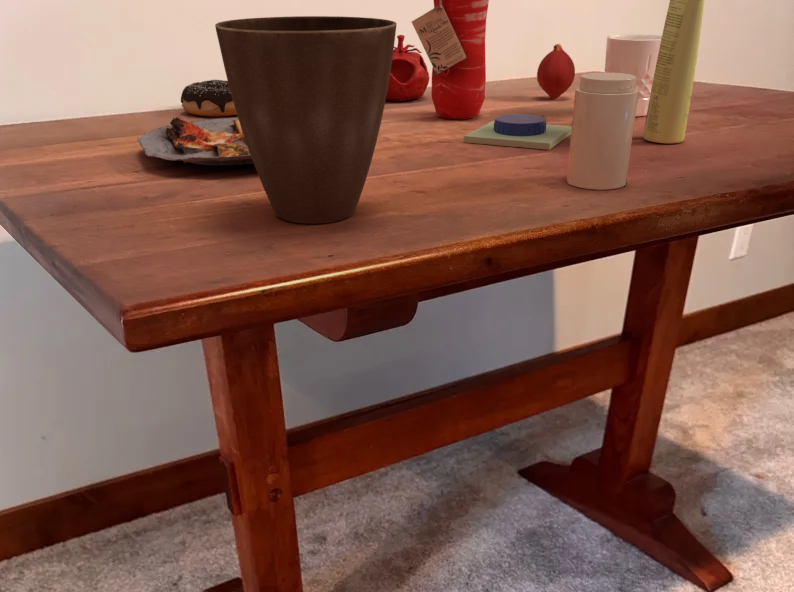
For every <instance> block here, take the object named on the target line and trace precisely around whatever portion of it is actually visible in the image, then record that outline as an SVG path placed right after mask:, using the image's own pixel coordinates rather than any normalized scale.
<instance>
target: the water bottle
mask: <svg viewBox="0 0 794 592" xmlns="http://www.w3.org/2000/svg"><path fill="white" fill-rule="evenodd" d="M489 2H490V0H433V8H432V9H430V10H429V11H427V12H425V13H423V14H422V15H420V16H419V17H417V18H415V19H413V20H412V21H411V24H412V26H413V28H414V30H415V32H416V34H417V36H418V39H419V41H420V43H421V45H422V47H423V49H424V51H425V53H426V55H427V58H428V60H429V62H430V64H431V66H432V71H431V99H432V102H433V107H434V110H435V113H436V114H437V116H438V117H439V118H441V119H445V120H470V119H473V118H476V117H477V116H479V114H480V112H481V110H482V107H483V104H484V102H485V97H486V84H487V83H486V82H487V81H486V80H487V77H486V75H487V73H486V72H487V71H486V69H487V68H486V67H487V65H486V64H487V63H486V34H487V33H486V31H487V30H486V29H487V17H488V10H489Z"/></svg>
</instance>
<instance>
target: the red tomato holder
mask: <svg viewBox="0 0 794 592" xmlns="http://www.w3.org/2000/svg"><path fill="white" fill-rule="evenodd" d="M396 37H397V46H394V50H393V58H392V65H391V72H390V78H389V85H388V90H387V95H386V100H385V101H389V102H407V101H412V100H418V99H420V98H422V97H423V96H424V94H425V92H426V91H427V88H428V85H429V82H430V73H429V70H428V67H427V64H426V62H425V60H424V57H423V56H422V55H421V54H422V53H423V51H420V50H419V48H416V47H415V44H413V45H412V44H406V45H405V46H404V41H405V35H404V34H399V35H396ZM409 48H411V49H409Z"/></svg>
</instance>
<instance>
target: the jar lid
mask: <svg viewBox="0 0 794 592" xmlns="http://www.w3.org/2000/svg"><path fill="white" fill-rule="evenodd" d="M494 120H495V122H494V131H495V132H496V133H499V134H502V135H509V136H534V135H539V134H543V133H544V132H546V124H547V118H546V117H544V116H542V115H536V114H527V113H510V114H501V115H498V116H496V117H495V118H494Z"/></svg>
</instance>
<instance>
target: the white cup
mask: <svg viewBox="0 0 794 592" xmlns="http://www.w3.org/2000/svg"><path fill="white" fill-rule="evenodd" d="M661 38H662V35H656V34H643V33H642V34H640V33H638V34H635V33H633V34H632V33H631V34H626V33H625V34H613V35H608V36H607V37H606V45H605V46H606V47H605V59H604V60H605V61H604V72H606V73H624V74H631V75H634V76H636V83H637V86H635V88H636V89H638V90H639V93H638V100H637V107H636V115H635V118H636V117H647V111H648V105H649V100H650V94H651V89H652V83H653V78H654V73H655V68H656V63H657V58H658V53H659V48H660V43H661Z"/></svg>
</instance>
